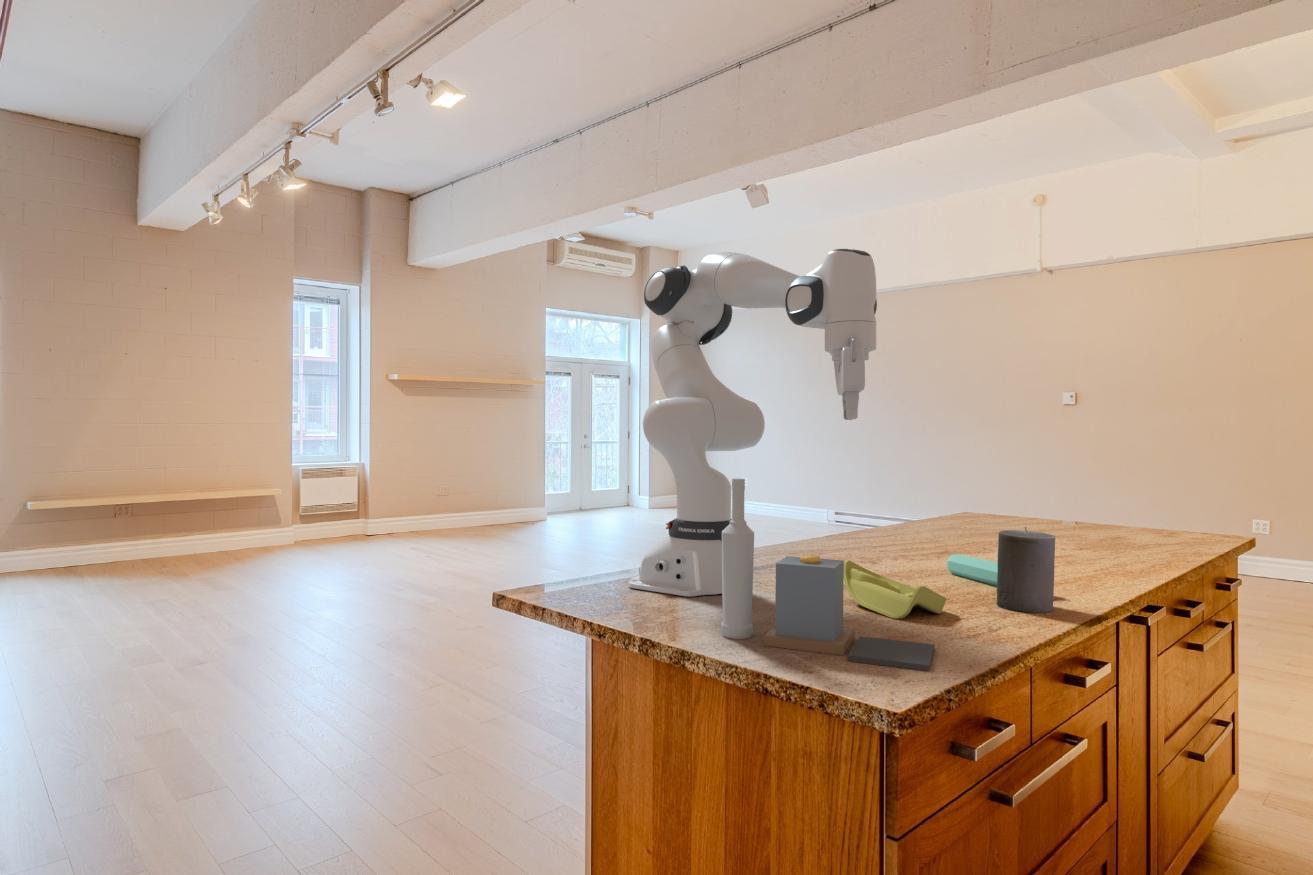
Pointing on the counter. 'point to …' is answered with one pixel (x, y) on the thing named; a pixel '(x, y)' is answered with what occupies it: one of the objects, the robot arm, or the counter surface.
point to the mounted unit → (810, 606)
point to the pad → (892, 653)
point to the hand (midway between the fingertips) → (850, 419)
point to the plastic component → (888, 593)
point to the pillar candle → (1025, 571)
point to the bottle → (737, 569)
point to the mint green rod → (973, 568)
